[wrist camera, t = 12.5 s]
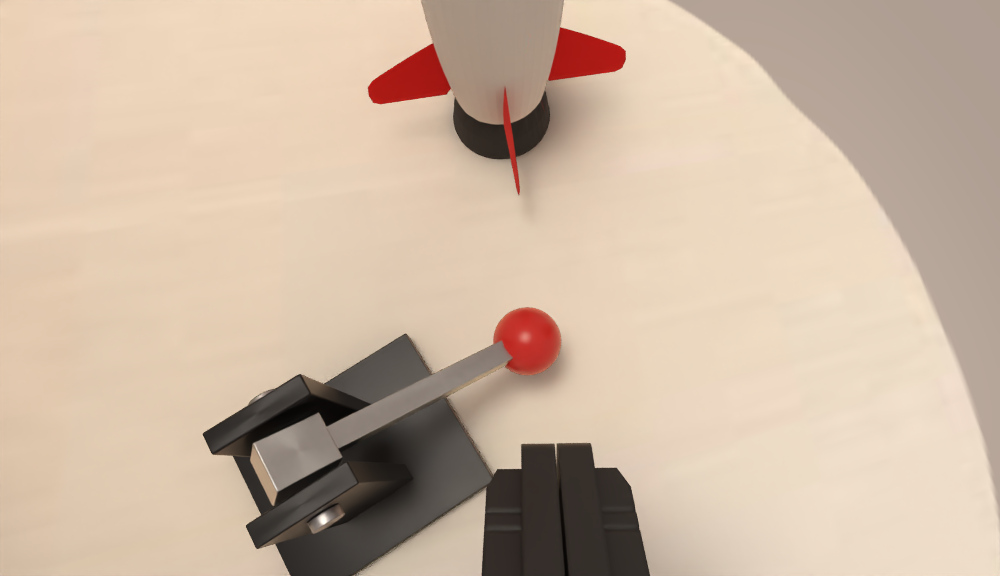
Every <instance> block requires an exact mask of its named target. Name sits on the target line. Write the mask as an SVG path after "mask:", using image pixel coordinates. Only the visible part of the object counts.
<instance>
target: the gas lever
mask: <svg viewBox="0 0 1000 576" xmlns="http://www.w3.org/2000/svg"><path fill="white" fill-rule="evenodd" d="M560 348H561V335H560V331H559V328H558V326H557V324H556V323H555V321H554V320H553V319H552V318H551V317H550V316H549V315H548V314H546V313H545V312H543V311H541V310H539V309H536V308H529V307H526V308H519V309H516V310H513V311H511V312H509V313H508V314H507V315H505V316H504V317H503V318H502V319H501V320H500V322H499V323H498V325H497V327H496V330H495V333H494V339H493V345H491V346H489V347H487V348H485V349H483V350H481V351H479V352H477V353H475V354H473V355H471V356H469V357H467V358H465V359H463V360H461V361H459V362H457V363H455V364H453V365H451V366H448V367H446V368H444V369H442V370H440V371H438V372H436V373H434V374H432V375H430V376H428V377H426V378H424V379H422V380H420V381H418V382H416V383H414V384H412V385H410V386H408V387H406V388H404V389H402V390H400V391H398V392H396V393H394V394H392V395H389V396H387V397H385V398H383V399H381V400H379V401H377V402H375V403H373V404H371V405H369V406H367V407H365V408H363V409H361V410H359V411H357V412H355V413H353V414H351V415H349V416H347V417H345V418H343V419H341V420H339V421H337V422H335V423H333V424H330V425H328V426H326V425H325V423H324V421H323V419H322V418H321V416H320V414H319V413H315V414H313V415H311V416H309V417H307V418H305V419H302V420H300V421H298V422H296V423H294V424H292V425H290V426H288V427H286V428H283V429H281V430H279V431H277V432H275V433H273V434H271V435H269V436H267V437H264V438H262V439H260V440H258V441H256V442H254V443H253V446H252V452H251V459H250V461H251V463H252V465H253V467H254V469H255V471H256V473H257V475H258V478H259V480H260V482H261V484H262V486H263V488H264V490H265V492H266V494H267V496H268V498H269V500H270V502H271V504H272V505H273V506H274V505H276V504H278V503H280V502H282V501H283V500H285V499H287V498H289V497H291V496H292V495H294V494H295V493H297V492H299V491H300V490H302V489H303V488H305V487H306V486H308V485H309V484H311V483H313V482H314V481H316V480H317V479H319V478H320V477H322V476H324V475H325V474H327V473H328V472H330V471H331V470H333V469H335V468H336V467H338V465H339V463H340V461H341V460H342V458H343V457H342V455H341V453H340V452H342V451H344V450H346V449H348V448H350V447H352V446H354V445H356V444H357V443H359V442H361V441H363V440H365V439H367V438H369V437H371V436H373V435H375V434H377V433H378V432H380V431H382V430H384V429H386V428H388V427H390V426H392V425H394V424H396V423H397V422H399V421H401V420H403V419H405V418H407V417H409V416H411V415H413V414H415V413H417V412H418V411H420V410H422V409H424V408H426V407H428V406H430V405H432V404H434V403H436V402H438V401H439V400H441V399H443V398H445V397H447V396H449V395H451V394H453V393H455V392H457V391H458V390H460V389H462V388H464V387H466V386H468V385H470V384H472V383H474V382H476V381H478V380H479V379H481V378H483V377H485V376H487V375H489V374H491V373H493V372H495V371H497V370H499V369H500V368H502V367H504V366H505V367H506V368H507V369H509V370H510V371H512V372H514V373H516V374H520V375H535V374H538V373H541V372H543V371H545V370H546V369H548V368H549V367H550V366H551V365H552V364H553V363H554V362H555V360H556V358H557V357H558V355H559V352H560Z"/></svg>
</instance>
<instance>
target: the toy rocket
mask: <svg viewBox="0 0 1000 576" xmlns="http://www.w3.org/2000/svg"><path fill="white" fill-rule="evenodd" d="M421 3H422V6H423V10H424V14H425V18H426V21H427V25H428V28H429V31H430V35H431V38H432V41H433V44H431V45H429V46H427V47H425V48H424V49H422V50H420V51H419V52H417V53H415V54H414V55H412V56H410V57H409V58H407V59H405V60H404V61H402V62H401V63H399V64H397V65H396V66H394V67H393V68H391V69H390V70H388V71H387V72H385V73H383V74H382V75H380V76H379V77H378V78H376V79H375V80H373V81H372V82H371V84H370V85H369V87H368V92H369V97H370V98H371V100H372V101H373V103H377V104H385V103H392V102H399V101H405V100H412V99H419V98H426V97H432V96H439V95H446V94H447V93H448V92H449V90H450V89H452V91H453V94H454V96H455V100H454V114H453V119H454V126H455V130H456V132H457V134H458V136H459V138H460V139H461V141H462V142H463V143H464V144H465V145H466V146H467V147H468V148H469V149H471V150H472V151H474V152H475V153H477V154H479V155H482V156H485V157H489V158H494V159H506V158H511V163H512V168H513V173H514V178H515V183H516V188H517V192H518V194H519V192H520V186H519V176H518V169H517V162H516V156H519V155H522V154H524V153H526V152H527V151H529V150H531V149H532V148H533V147H535V146H536V145H537V144H538V143H539V142H540V141H541V139H542V138H543V136H544V135H545V132H546V130H547V128H548V124H549V119H550V111H549V105H548V101H547V96H546V92H545V88H546V84H547V81H548V80H549V81H551V80H558V79H565V78H572V77H579V76H586V75H594V74H601V73H608V72H615V71H617V70H619V69H621V68H622V67H623V64H624V62H625V60H626V51H625V50H624V49H623V48H622V47H621V46H618V45H615V44H613V43H610V42H607V41H604V40H601V39H598V38H595V37H592V36H589V35H585V34H582V33H579V32H575V31H572V30H568V29H564V28H561V27H560V24H561V18H562V11H563V3H564V0H421Z"/></svg>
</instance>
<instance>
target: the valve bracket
mask: <svg viewBox="0 0 1000 576" xmlns="http://www.w3.org/2000/svg"><path fill="white" fill-rule="evenodd" d="M430 375H432V374H431V372H430V370H429V369H428V367H427V366H426V364H425V362H424V361H423V359H422V357H421V356H420V354H419V352H418V351H417V349H416V347H415V346H414V344H413V342H412V341H411V339H410V337H409V336H408V335H407V334H404V335H402V336H401V337H399V338H397V339H396V340H394V341H392V342H391V343H389V344H388V345H386V346H384V347H383V348H381V349H380V350H378V351H376V352H375V353H373V354H371V355H370V356H368V357H367V358H365V359H363V360H362V361H360V362H359V363H357V364H355V365H354V366H352V367H350V368H349V369H347V370H346V371H344V372H342V373H341V374H339V375H338V376H336V377H334V378H333V379H331V380H330V381H328V382H326V383H325V384H323V383H320V382H318V381H316V380H313V379H311V378H308V377H306V376H304V375H301V374H299V375H297V376H295V377H294V378H292V379H290V380H289V381H287V382H286V383H284V384H282V385H281V386H279V387H277V388H276V389H271V390H268V391H266V392H263V393H261V394H260V395H258V396H256V397H255V398H254V399H252V400H251V401H250V402H249V404H248V406H246V407H245V408H243V409H242V410H240V411H238V412H237V413H235V414H233V415H232V416H230V417H229V418H227V419H225V420H224V421H222V422H220V423H219V424H217V425H215V426H214V427H212V428H211V429H209V430H207V431H206V432H204V433H203V436H204V438H205V440H206V443H207V445H208V447H209V449H210V451H211V453H212V454H213V455H228V456H233V457H234V459H235V461H236V463H237V466H238V468H239V470H240V472H241V474H242V476H243V478H244V480H245V482H246V484H247V486H248V488H249V490H250V492H251V495H252V497H253V499H254V501H255V503H256V505H257V507H258V509H259V511H260V513H261V516H259V517H258V518H256V519H255V520H253V521H252V522H250V523H248V524H247V525H246V528H247V530H248V532H249V534H250V536H251V538H252V540H253V543H254V545H255V547H256V548H257V549H259V548H263V547H266V546H269V545H273V544H276V546H277V548H278V550H279V553H280V555H281V557H282V559H283V561H284V563H285V565H286V567H287V569H288V571H289V573H290V575H291V576H352V575H354V574H355V573H357V572H358V571H360V570H361V569H363V568H364V567H366V566H367V565H369V564H370V563H372V562H373V561H375V560H376V559H378V558H379V557H381V556H382V555H384V554H385V553H387V552H388V551H390V550H391V549H393V548H394V547H396V546H397V545H399V544H400V543H402V542H403V541H405V540H406V539H408V538H409V537H411V536H412V535H414V534H415V533H417V532H418V531H420V530H421V529H423V528H424V527H426V526H427V525H429V524H430V523H432V522H433V521H435V520H436V519H438V518H439V517H441V516H443V515H444V514H446V513H447V512H449V511H450V510H452V509H453V508H455V507H456V506H458V505H459V504H461V503H462V502H464V501H465V500H467V499H468V498H470V497H471V496H473V495H474V494H476V493H477V492H479V491H480V490H482V489H483V488H485V487H486V486H488V485H489V483H490V481H491V480H492V478H493V475H492V473H491V471H490V470H489V468H488V467H487V465H486V463H485V462H484V460H483V458H482V457H481V455H480V453H479V452H478V450H477V448H476V447H475V445H474V443H473V442H472V440H471V438H470V437H469V435H468V433H467V432H466V430H465V428H464V427H463V425H462V423H461V422H460V420H459V419H458V417H457V415H456V414H455V412H454V410H453V409H452V407H451V405H450V404H449V402H448V400H447V399H446V397H445V398H443V399H441V400H439V401H438V402H436V403H434V404H432V405H430V406H428V407H426V408H424V409H422V410H420V411H418V412H417V413H415V414H413V415H411V416H409V417H407V418H405V419H403V420H401V421H399V422H397V423H396V424H394V425H392V426H390V427H388V428H386V429H384V430H382V431H380V432H378V433H377V434H375V435H373V436H371V437H369V438H367V439H365V440H363V441H361V442H359V443H357V444H356V445H354V446H352V447H350V448H348V449H346V450H344V451H342V452H340V453H341V455H342V457H343V458H342V460H341V461H340V463H339V465H338V467H336V468H335V469H333V470H331V471H330V472H328V473H327V474H325V475H324V476H322V477H320V478H319V479H317V480H316V481H314V482H313V483H311V484H309V485H308V486H306V487H305V488H303V489H302V490H300V491H299V492H297V493H295V494H294V495H292V496H291V497H289V498H287V499H285V500H283V501H282V502H280V503H278V504H276V505H274V506H273V505H272V504H271V502H270V500H269V498H268V496H267V494H266V492H265V490H264V488H263V486H262V484H261V482H260V480H259V478H258V475H257V473H256V471H255V469H254V467H253V465H252V463H251V461H250V459H251V452H252V446H253V443H254V442H256V441H258V440H260V439H262V438H264V437H267V436H269V435H271V434H273V433H275V432H277V431H279V430H281V429H283V428H286V427H288V426H290V425H292V424H294V423H296V422H298V421H300V420H302V419H305V418H307V417H309V416H311V415H313V414H315V413H319V414H320V416H321V418H322V419H323V421H324V423H325V425H326V426H328V425H330V424H333V423H335V422H337V421H339V420H341V419H343V418H345V417H347V416H349V415H351V414H353V413H355V412H357V411H359V410H361V409H363V408H365V407H367V406H369V405H371V404H373V403H375V402H377V401H379V400H381V399H383V398H385V397H387V396H389V395H392V394H394V393H396V392H398V391H400V390H402V389H404V388H406V387H408V386H410V385H412V384H414V383H416V382H418V381H420V380H422V379H424V378H426V377H428V376H430Z"/></svg>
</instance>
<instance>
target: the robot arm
mask: <svg viewBox="0 0 1000 576" xmlns="http://www.w3.org/2000/svg"><path fill="white" fill-rule="evenodd" d="M521 462H522V469H497V471H496V473H495V474H494V476H493V478H492V480H491V481H490V483H489V485H488V486H487V489H486V507H485V525H484V543H483V561H482V576H650V574H649V569H648V565H647V560H646V555H645V551H644V546H643V541H642V537H641V532H640V530H639V523H638V518H637V514H636V512H635V504H634V500H633V495H632V490H631V486H630V485H629V484H628V482H627V481H626V480H625V478H624V477H623V476H622V474H621V473H620V472H619V470H618V469H617V468H595V466H594V459H593V453H592V447H591V444H590V443H557V462H556V456H555V445H554V444H521Z"/></svg>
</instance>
